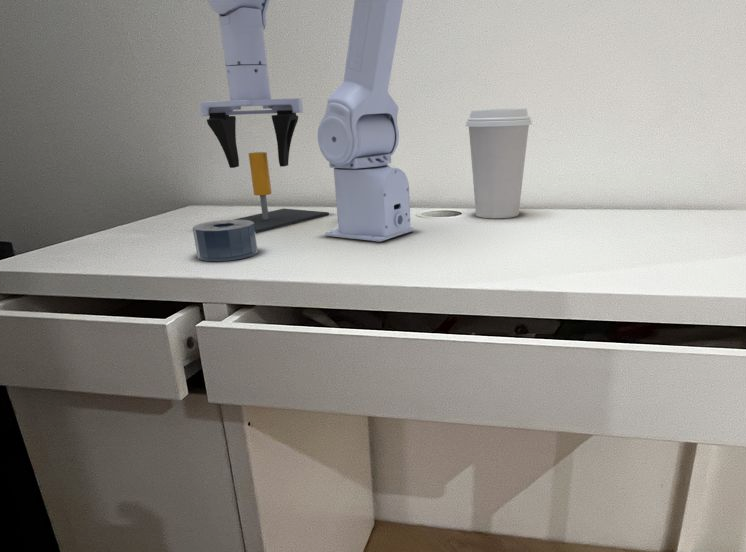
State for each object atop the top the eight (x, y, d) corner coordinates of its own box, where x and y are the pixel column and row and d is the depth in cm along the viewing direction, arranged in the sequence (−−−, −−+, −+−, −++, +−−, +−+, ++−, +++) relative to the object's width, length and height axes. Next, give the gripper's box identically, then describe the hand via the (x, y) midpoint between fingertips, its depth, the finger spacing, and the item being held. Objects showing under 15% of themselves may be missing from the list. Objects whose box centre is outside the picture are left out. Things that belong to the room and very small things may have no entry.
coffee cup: (509, 222, 89) (511, 109, 83) (453, 217, 94) (452, 111, 88) (540, 212, 96) (544, 107, 90) (486, 207, 101) (487, 109, 95)
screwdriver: (277, 219, 95) (269, 152, 91) (261, 221, 94) (253, 153, 90) (269, 217, 97) (261, 151, 93) (254, 219, 96) (245, 153, 92)
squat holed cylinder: (269, 251, 76) (266, 221, 75) (225, 264, 71) (220, 232, 70) (230, 246, 80) (226, 218, 79) (185, 257, 75) (180, 227, 73)
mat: (329, 214, 100) (328, 212, 100) (244, 235, 86) (243, 233, 86) (283, 210, 105) (283, 208, 105) (196, 230, 91) (196, 227, 91)
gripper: (184, 67, 84) (201, 170, 89) (288, 62, 83) (299, 168, 88) (206, 69, 91) (220, 165, 96) (302, 65, 89) (312, 163, 94)
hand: (259, 166), depth 92 cm, fingers open, 7 cm apart
